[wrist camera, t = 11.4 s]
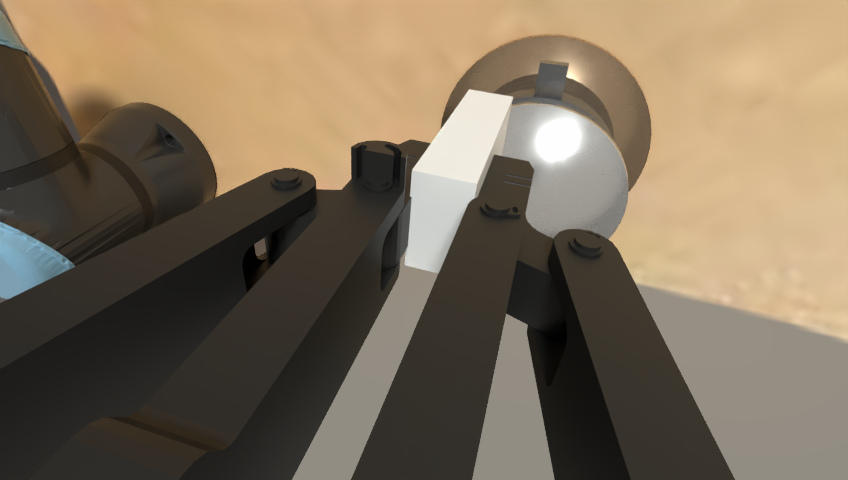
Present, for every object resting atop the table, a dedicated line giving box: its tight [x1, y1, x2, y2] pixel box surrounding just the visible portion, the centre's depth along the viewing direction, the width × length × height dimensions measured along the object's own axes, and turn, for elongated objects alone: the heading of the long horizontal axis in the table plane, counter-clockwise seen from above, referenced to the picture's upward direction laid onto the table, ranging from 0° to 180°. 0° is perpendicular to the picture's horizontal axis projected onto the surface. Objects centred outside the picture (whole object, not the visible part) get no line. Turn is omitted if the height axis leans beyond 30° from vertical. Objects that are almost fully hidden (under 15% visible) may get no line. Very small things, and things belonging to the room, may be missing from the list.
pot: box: [441, 35, 651, 192], centre depth 40 cm, size 19×19×9 cm
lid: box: [502, 102, 628, 239], centre depth 35 cm, size 14×14×2 cm
